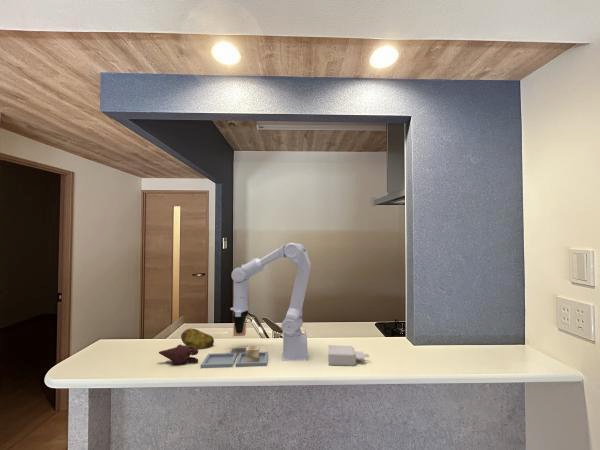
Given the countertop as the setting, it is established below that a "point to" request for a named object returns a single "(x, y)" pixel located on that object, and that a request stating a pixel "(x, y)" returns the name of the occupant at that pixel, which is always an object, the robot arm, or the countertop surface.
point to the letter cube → (239, 333)
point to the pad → (238, 350)
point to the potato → (196, 339)
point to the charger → (344, 355)
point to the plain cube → (252, 354)
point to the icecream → (180, 354)
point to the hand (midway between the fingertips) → (240, 331)
